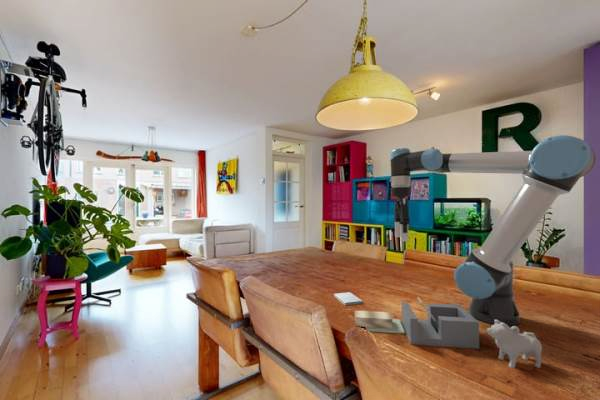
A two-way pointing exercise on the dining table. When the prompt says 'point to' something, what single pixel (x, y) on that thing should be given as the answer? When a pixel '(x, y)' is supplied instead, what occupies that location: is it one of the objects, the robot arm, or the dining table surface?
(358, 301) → the hard drive
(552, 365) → the dining table surface
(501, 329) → the animal figurine
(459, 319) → the dock
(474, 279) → the robot arm
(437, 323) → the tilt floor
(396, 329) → the mat
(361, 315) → the tile
